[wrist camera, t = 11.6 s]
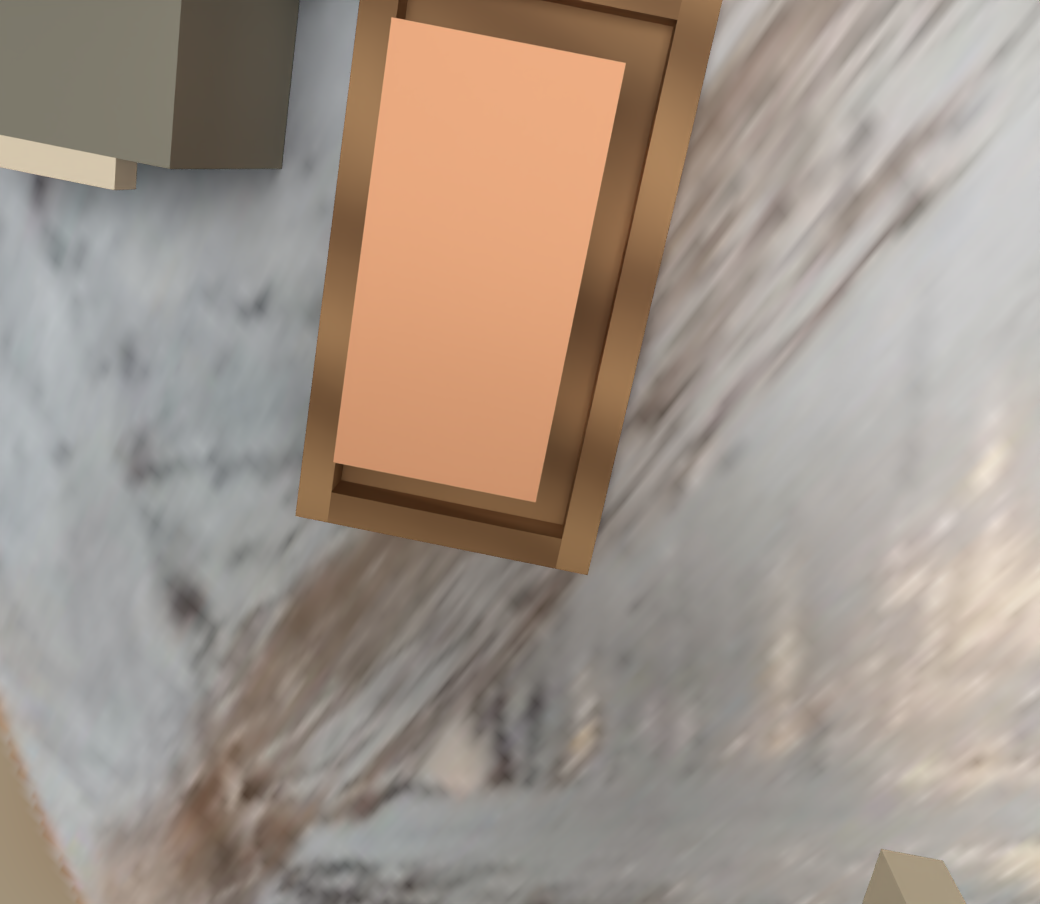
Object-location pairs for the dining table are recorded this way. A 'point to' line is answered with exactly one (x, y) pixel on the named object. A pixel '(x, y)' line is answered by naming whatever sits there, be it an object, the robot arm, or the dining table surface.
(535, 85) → the peach rectangular brick
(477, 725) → the dining table surface
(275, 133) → the dispenser
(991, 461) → the dining table surface
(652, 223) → the tray
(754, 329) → the dining table surface
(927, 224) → the dining table surface
